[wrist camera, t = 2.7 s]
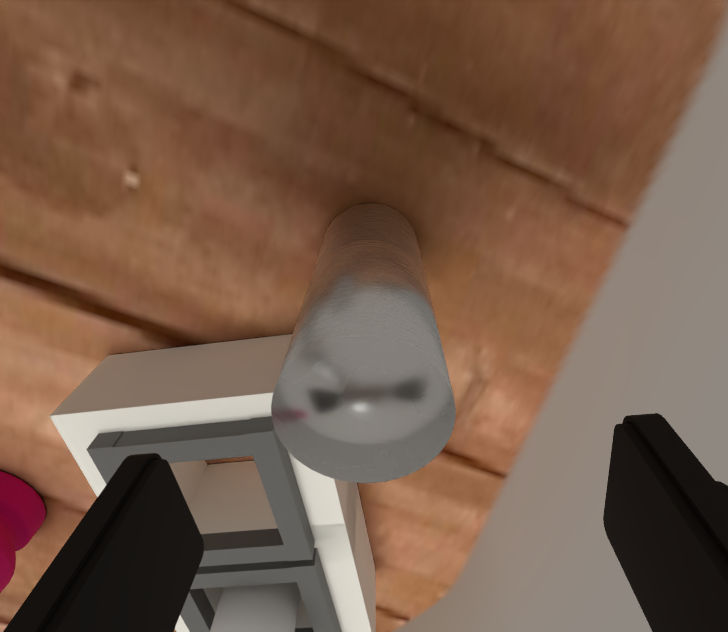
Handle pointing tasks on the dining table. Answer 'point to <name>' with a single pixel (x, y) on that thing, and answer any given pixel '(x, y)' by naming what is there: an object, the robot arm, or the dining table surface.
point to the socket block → (231, 486)
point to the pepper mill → (16, 521)
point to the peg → (365, 357)
